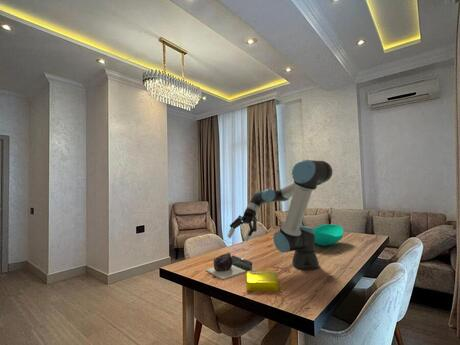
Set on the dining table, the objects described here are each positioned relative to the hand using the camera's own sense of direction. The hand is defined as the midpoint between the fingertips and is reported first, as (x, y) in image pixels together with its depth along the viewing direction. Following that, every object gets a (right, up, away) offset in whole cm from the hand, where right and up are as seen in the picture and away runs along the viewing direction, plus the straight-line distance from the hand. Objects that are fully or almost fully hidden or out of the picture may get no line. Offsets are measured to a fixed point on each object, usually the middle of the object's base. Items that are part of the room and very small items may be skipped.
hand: (237, 238), depth 142 cm
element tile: (+11, -15, -27) cm, 33 cm away
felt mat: (-7, -16, -9) cm, 20 cm away
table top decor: (+70, -17, +43) cm, 84 cm away
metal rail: (+3, -16, -3) cm, 17 cm away
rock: (-7, -15, -9) cm, 19 cm away
